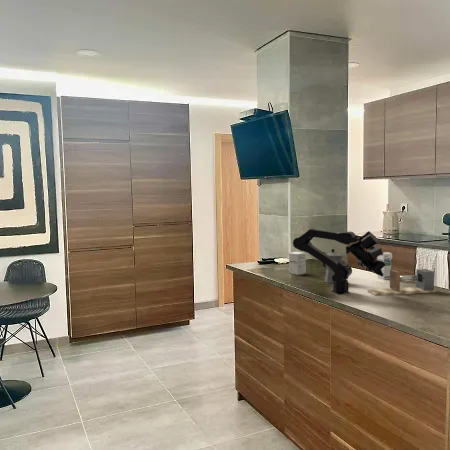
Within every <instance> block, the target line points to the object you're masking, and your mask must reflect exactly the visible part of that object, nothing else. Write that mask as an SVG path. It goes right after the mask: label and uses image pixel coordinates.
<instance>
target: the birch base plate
mask: <svg viewBox="0 0 450 450" xmlns="http://www.w3.org/2000/svg"><path fill="white" fill-rule="evenodd" d="M367 293H369V294H371V295H373V296H390V295H391V296H393V295H407V294H408V295H409V294H410V295H412V294H425V293H426V294H428V293H429V294H430V293H432V294H433V293H436V290H435V289H434V290H426V291H424V290H421V289H419V288H416V286H412V287H411V286H410V287H400V291H395V290H393V289H391V288H390V287H389V288H377V289H376V288H373V289H367Z"/></svg>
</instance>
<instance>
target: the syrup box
mask: <svg viewBox="0 0 450 450" xmlns="http://www.w3.org/2000/svg"><path fill="white" fill-rule="evenodd" d="M377 260H381V261H383V262H384V263H385V266H384V267H383V268H382V269H381V271H382V273H383V276H380V275H377V278H378V279H380V280H390V270H393V253H392V252H388V251H385V252H383V255H380V256H378V257H377Z"/></svg>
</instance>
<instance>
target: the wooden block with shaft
mask: <svg viewBox="0 0 450 450" xmlns="http://www.w3.org/2000/svg"><path fill="white" fill-rule="evenodd" d="M417 280H418V276H417V275H415V274H413V275H412V274H409V275H401V272H400V271H398V270H396V269H392V270H390V279H389V289H390V288H391V289H393V290H395V291H400V288H401V283H402V282H416V281H417Z"/></svg>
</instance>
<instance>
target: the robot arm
mask: <svg viewBox="0 0 450 450" xmlns="http://www.w3.org/2000/svg"><path fill="white" fill-rule="evenodd" d="M313 238H319V239H325V240H331V241H336V242H337V243H339V244H343V245H346V246H345V254H346V255H348V254H349V253H351V254H352V256H354V257H355V258H356V260H357V265H358V266H359V267H360V268H364V267H365V268H366V269H365V270H366V271H369V272H370V273H373V274H376V276H378V275H380V276H383V273H382V271H381V269H382V268H383V267H384V266H385V263H384V262H383V261H381V260H378V256H380V255H383V249H382V247H379V246H375V245H377V244H379V240H378V238H377V236H376V235H374V234H373V233H372V232H371V231H367V232H365V234H363V235H362V236H359V235H356V234H355V232H353V231H330V230H324V229H317V228H309V229H307V230H306V232H304V233H303V234H302V235H300V236H299V237H295V238H294V239H293V241H292V245H293V246H292V247H293V248H295V249H296V250H299V252H303V253H307V254H309V255H311V256H312V257H313V258H315V259H316V260H318V261H320V262H321V263H322V264H323V263H324V264H325V265H327V266H329V267H330V268H331V269H332V270H333V272H334V273H335V274H334V275H333V276H332V280H333V283H332V284H333V285H332V286H333V287H332V289H331V292H332V293H335V294H337V295H342V294H350V290H349V289H350V288H349V281H348V279H349V277H350V276H351V275H352V273H353V269H352V266H351V265H350V263H347V262H345V260H343V259H341V261H339V262H338V261H336V260H334V259H333V258H331V257H330V256H328V255H327V254H325V253H323V252H324V251H322V250H320V249H319V248H318V247H316V246H314V245H313V244H312V242H311V241H312V240H313ZM347 245H349V246H347ZM366 249H367V250H368V251H367V250H366Z"/></svg>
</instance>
